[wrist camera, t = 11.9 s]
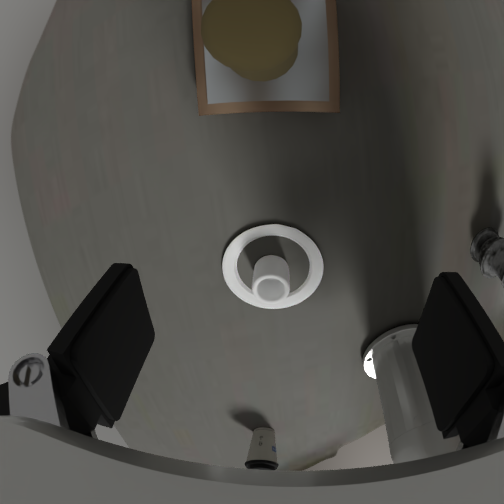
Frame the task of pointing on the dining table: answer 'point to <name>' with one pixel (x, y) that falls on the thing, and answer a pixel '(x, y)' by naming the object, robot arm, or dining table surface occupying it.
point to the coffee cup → (262, 450)
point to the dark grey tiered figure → (489, 253)
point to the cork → (253, 36)
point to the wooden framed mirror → (284, 87)
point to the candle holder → (272, 270)
